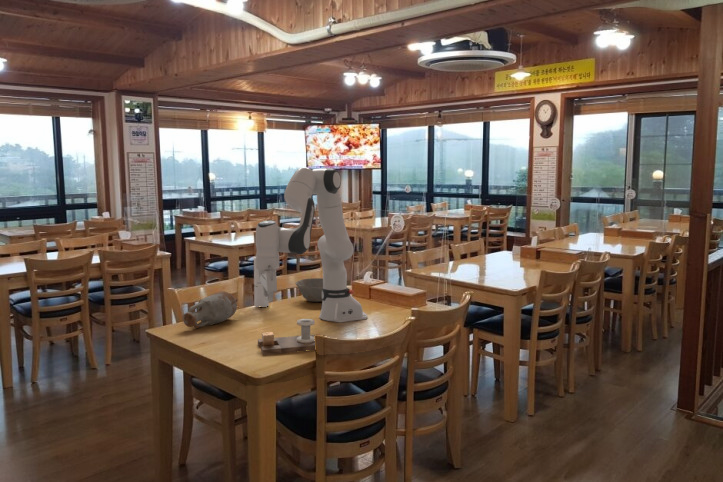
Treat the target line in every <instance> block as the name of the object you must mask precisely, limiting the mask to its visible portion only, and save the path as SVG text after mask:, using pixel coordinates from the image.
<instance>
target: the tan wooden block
mask: <svg viewBox="0 0 723 482" xmlns="http://www.w3.org/2000/svg"><path fill="white" fill-rule="evenodd" d="M274 338H275V334H274V332H273V331H267V332H262V333H261V339H262V347H263V346H274Z"/></svg>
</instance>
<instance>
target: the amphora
mask: <svg viewBox="0 0 723 482" xmlns="http://www.w3.org/2000/svg"><path fill="white" fill-rule="evenodd" d="M238 301H239V299H238V298H236V297H234V295H232V293H229V292H228V291H223V290H220V291H217V292H215V293H212V294H210V295H208V296H205V297H204V298H202V299H200V300H199V301H198V303H196V304H194V305H191V306H190V307H189V309H188V311H187V312H185V313H184V314H183V315H182V321H183V324H184V325H185V326H186V327H187V328H194V329H198V328H202V327H204V326H212V325H215V324H218V323H222V322H224V321H227V320H229V319H230V318H232V317H233V316H234V315H235V314H236V311H237V308H238ZM195 310H196V311H195Z"/></svg>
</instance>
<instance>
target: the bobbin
mask: <svg viewBox="0 0 723 482" xmlns="http://www.w3.org/2000/svg"><path fill="white" fill-rule="evenodd" d="M315 323H316V322H315V319H312V318H301V319H297V320H296V325H298V326H300V329H301V330H300V335H298V336H299V337H297V342H299V343H312V342H314V340H315V339H314V337H313V336H310V335H311V326H314V325H315Z"/></svg>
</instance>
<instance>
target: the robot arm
mask: <svg viewBox="0 0 723 482" xmlns="http://www.w3.org/2000/svg"><path fill="white" fill-rule="evenodd" d="M341 185H342V177H341V174H340V172H339V171H338V169H335V168H331V167H329V168H313V169H311V168H309V167H306V166H304V167H303V166H302V167H299V168H298V169H296V170H295V171H294V173H293V175H292V176H291V177H290V179H289V181H288V183H287V186H286V188H285V190H284V194H283V197H284V201H285V203H286V205H287V206H288V207H289V208H291V210H294V211H295V212H298V213H300V214H301V215H300V220H299V225H298V226H297V227H294V228H293V227H292V228H291V227H289V228H288V227H280V226H278V223H277V221H275V220H263V221H259V223H257V225H256V228H255V248H256V252H255V253H256V254H255V257H256V269H258V271H259V279H260V282H261V284H262V285H263V289H264V296H265V297H268V302H269V303H273V302H274V293H277V292H278V281H277V280H278V278H277V270H278V269H280V254H279V253H284V254H285V253H287V254H296V255H300V256H301V255H304V254H305V253H306V252H307V251H308V250H309V249H310V246H311V235H312V228H313V223H314V217H315V211H316V205H317V213H318V220H319V224H320V226H321V229H322V231H323V235H322V236H320V238H319V239H318V240H317V249H318V252H319V256H320V262H321V267H322V279H323V288H322V303H321V310H320V314H319V317H318V318H319V319H320V320H323V321H329V322H334V323H346V322H347V323H348V322H353V321H360V320H361V321H362V320H367V319H368V315H367V313H366V312H364V311H363V307H362V304H361V303H360V302H359V301H358V300H357V299H356V298H354V297H353V296H352V295H354V290H353V289H351V288H349V287H348V286H347V284H348V283H347V282H348V280H347V278H348V277H347V274H348V273H347V268H346V266H345V263H344V261H347V260H350V259H351V258H352V256H353V255H354V252H355V247H354V245H353V242H351V239H350V237H349V236H350V235H349V233H348V230H347V227H346V224H345V219H344V213H343V205H342V198H341V195H340V191H339V189H340V188H341ZM313 195H315V196H316V202H317V203H316V205H315V202H314V199H312V196H313Z"/></svg>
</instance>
